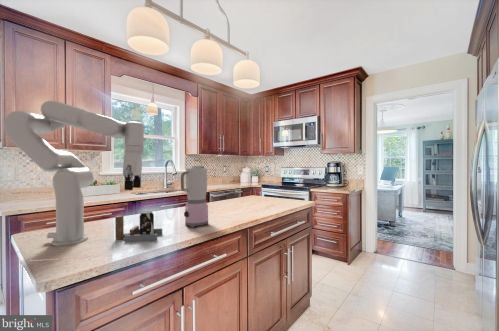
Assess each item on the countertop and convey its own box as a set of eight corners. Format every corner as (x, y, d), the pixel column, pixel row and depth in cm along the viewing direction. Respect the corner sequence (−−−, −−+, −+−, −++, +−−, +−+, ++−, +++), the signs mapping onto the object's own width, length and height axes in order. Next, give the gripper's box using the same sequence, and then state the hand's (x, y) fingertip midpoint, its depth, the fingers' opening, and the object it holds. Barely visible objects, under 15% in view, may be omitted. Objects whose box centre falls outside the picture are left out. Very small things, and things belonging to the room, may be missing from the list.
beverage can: (156, 238, 106) (155, 211, 105) (142, 241, 101) (142, 213, 101) (150, 235, 110) (150, 209, 110) (137, 238, 106) (137, 211, 105)
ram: (113, 241, 101) (112, 218, 100) (120, 236, 108) (119, 214, 107) (133, 240, 102) (133, 217, 101) (139, 235, 108) (138, 214, 108)
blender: (200, 220, 138) (199, 165, 137) (213, 224, 129) (212, 165, 129) (175, 226, 126) (174, 166, 126) (187, 230, 118) (187, 166, 117)
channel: (124, 242, 100) (124, 235, 100) (133, 235, 109) (133, 229, 109) (156, 241, 101) (156, 234, 101) (162, 234, 111) (162, 228, 111)
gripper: (132, 150, 113) (131, 186, 113) (116, 148, 96) (115, 190, 96) (148, 151, 114) (147, 187, 114) (135, 149, 96) (134, 191, 97)
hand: (132, 188), depth 105 cm, fingers open, 9 cm apart
